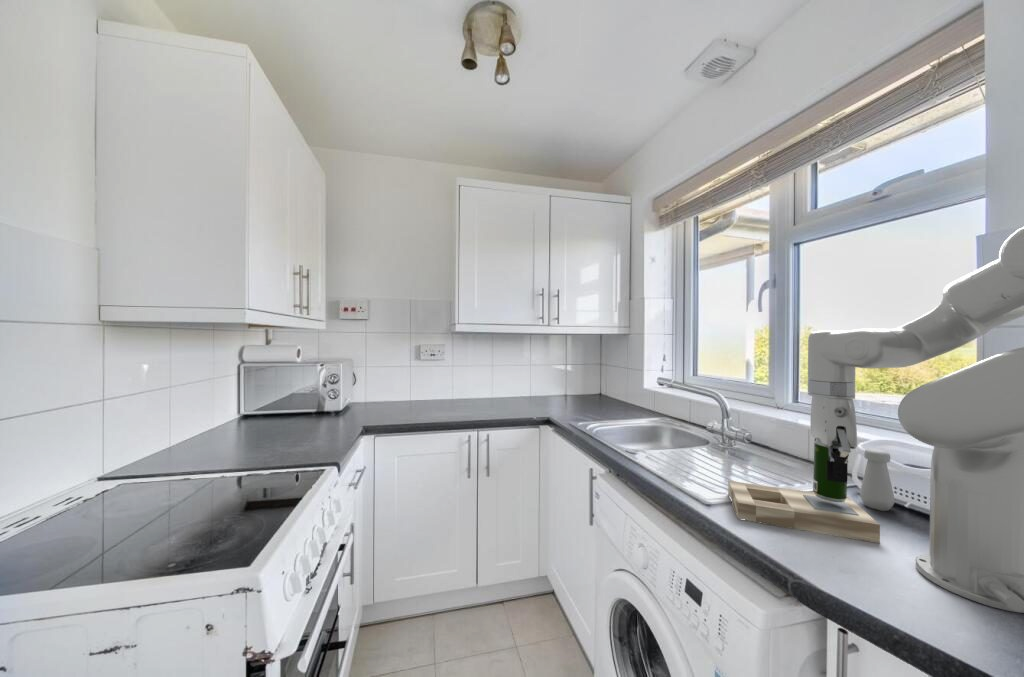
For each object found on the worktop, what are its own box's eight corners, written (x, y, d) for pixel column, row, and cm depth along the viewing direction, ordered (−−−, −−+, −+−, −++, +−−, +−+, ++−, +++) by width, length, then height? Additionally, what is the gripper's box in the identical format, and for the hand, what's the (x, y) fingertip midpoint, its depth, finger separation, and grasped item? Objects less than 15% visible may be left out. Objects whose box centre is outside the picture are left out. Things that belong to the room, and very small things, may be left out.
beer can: (822, 501, 75) (824, 442, 75) (807, 490, 80) (808, 435, 80) (853, 504, 74) (855, 444, 74) (835, 493, 79) (837, 437, 79)
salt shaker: (889, 504, 85) (890, 448, 85) (899, 515, 81) (900, 455, 80) (855, 499, 88) (856, 444, 88) (863, 508, 83) (864, 451, 83)
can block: (879, 543, 69) (880, 523, 69) (738, 519, 78) (738, 501, 78) (848, 512, 81) (848, 496, 81) (728, 495, 90) (728, 479, 90)
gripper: (875, 396, 68) (875, 494, 68) (835, 385, 84) (835, 465, 84) (824, 394, 71) (824, 488, 71) (795, 383, 87) (795, 461, 87)
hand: (830, 475), depth 77 cm, fingers open, 5 cm apart
